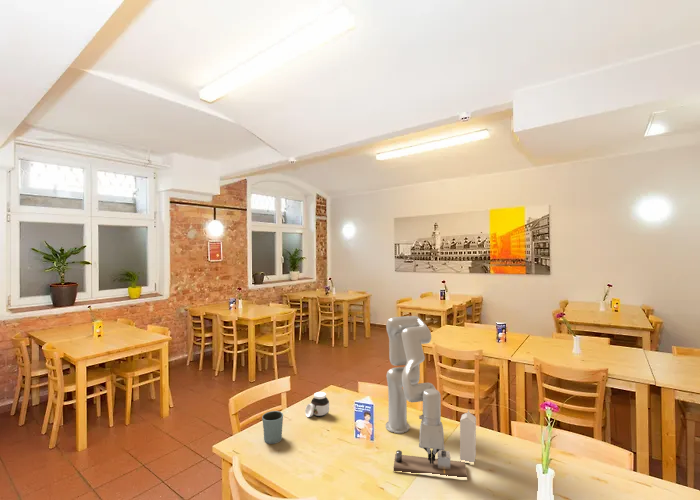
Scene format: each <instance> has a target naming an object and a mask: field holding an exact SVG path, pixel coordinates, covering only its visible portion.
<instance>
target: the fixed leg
mask: <svg viewBox="0 0 700 500" xmlns="http://www.w3.org/2000/svg"><path fill="white" fill-rule="evenodd" d="M395 454H396V461H397V462H399V463H400V462H402V455H403V452H402V450H400V449H399V450H396V451H395Z"/></svg>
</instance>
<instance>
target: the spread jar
mask: <svg viewBox="0 0 700 500" xmlns="http://www.w3.org/2000/svg"><path fill="white" fill-rule="evenodd" d="M329 412H330V400H329V398H327V393H326V392H324V391H317V392H314V394H313V398H312V399H311V400H310V403H308V404H307V405H306V406H305V417H307V418H311V417H313V416H314V417H315V418H324V417H326V416H327V415H328V414H329Z"/></svg>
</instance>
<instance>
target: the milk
mask: <svg viewBox="0 0 700 500" xmlns="http://www.w3.org/2000/svg"><path fill="white" fill-rule="evenodd" d="M459 424H460V425H459V460H460V459H461V460H465V461H469V462H474V461H475V462H476V460H475V457H476V455H477V454H476V453H477V445H476V443H477V438H476V437H477V436H476V435H477V434H476V433H477V431H476V429H477V418H476V416H475V415H474V414H473V413H471V412H470V409H468V410H467V412H465V413H462V414H461V416H460V422H459ZM476 458H477V457H476Z"/></svg>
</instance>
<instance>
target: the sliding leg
mask: <svg viewBox="0 0 700 500" xmlns="http://www.w3.org/2000/svg"><path fill="white" fill-rule="evenodd" d="M437 459H438V469H447V470H450V460H451V454H450V451H449V450H445V449H444V450H439V451H438V452H437Z"/></svg>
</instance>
